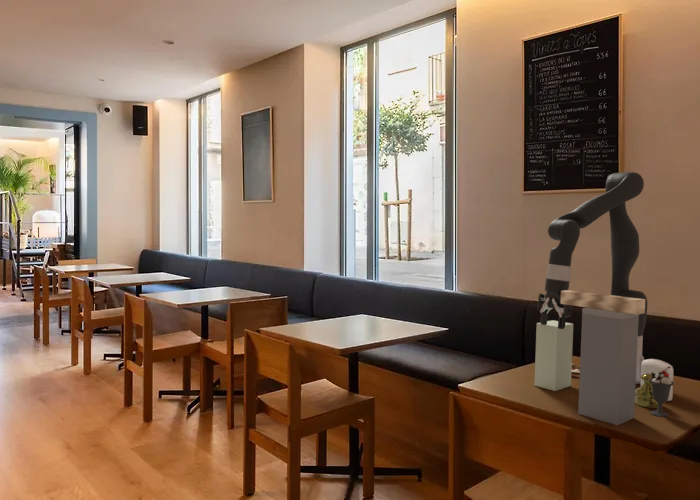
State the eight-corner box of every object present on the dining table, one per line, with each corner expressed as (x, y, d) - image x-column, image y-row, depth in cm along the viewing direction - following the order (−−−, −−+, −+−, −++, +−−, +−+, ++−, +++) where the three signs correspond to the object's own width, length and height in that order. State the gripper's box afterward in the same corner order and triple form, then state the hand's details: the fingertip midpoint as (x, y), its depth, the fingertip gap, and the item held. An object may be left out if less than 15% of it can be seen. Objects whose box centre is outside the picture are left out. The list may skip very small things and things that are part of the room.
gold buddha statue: (660, 410, 180) (661, 378, 180) (633, 405, 184) (634, 374, 183) (662, 403, 186) (663, 372, 186) (636, 399, 190) (637, 369, 190)
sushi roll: (594, 371, 226) (595, 361, 226) (597, 381, 212) (597, 370, 212) (554, 367, 231) (554, 357, 231) (554, 377, 217) (554, 366, 217)
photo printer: (637, 393, 197) (639, 357, 196) (646, 391, 199) (648, 355, 198) (665, 402, 188) (667, 364, 187) (674, 400, 190) (676, 363, 189)
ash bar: (560, 303, 182) (560, 290, 182) (567, 302, 185) (567, 290, 185) (638, 314, 164) (638, 300, 164) (644, 313, 166) (645, 299, 166)
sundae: (675, 418, 172) (678, 368, 172) (651, 416, 174) (653, 367, 173) (668, 411, 179) (670, 363, 178) (644, 409, 180) (646, 361, 179)
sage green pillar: (534, 385, 204) (536, 323, 203) (550, 380, 211) (552, 320, 209) (555, 391, 198) (557, 326, 197) (570, 385, 204) (573, 323, 203)
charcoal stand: (578, 413, 176) (582, 308, 174) (595, 407, 182) (599, 305, 180) (617, 425, 166) (622, 314, 164) (633, 418, 173) (638, 310, 171)
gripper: (582, 281, 191) (576, 331, 191) (552, 277, 204) (546, 324, 204) (564, 279, 188) (557, 329, 188) (534, 275, 201) (529, 322, 201)
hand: (551, 326), depth 196 cm, fingers open, 8 cm apart
